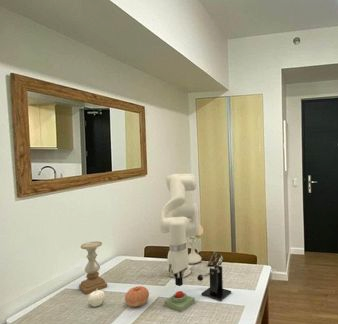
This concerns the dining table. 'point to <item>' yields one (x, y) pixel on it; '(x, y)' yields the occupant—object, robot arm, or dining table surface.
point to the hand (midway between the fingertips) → (179, 284)
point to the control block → (179, 302)
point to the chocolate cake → (215, 259)
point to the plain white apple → (96, 297)
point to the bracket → (216, 285)
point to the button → (179, 294)
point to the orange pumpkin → (137, 296)
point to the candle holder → (92, 270)
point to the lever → (200, 277)
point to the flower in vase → (194, 256)
